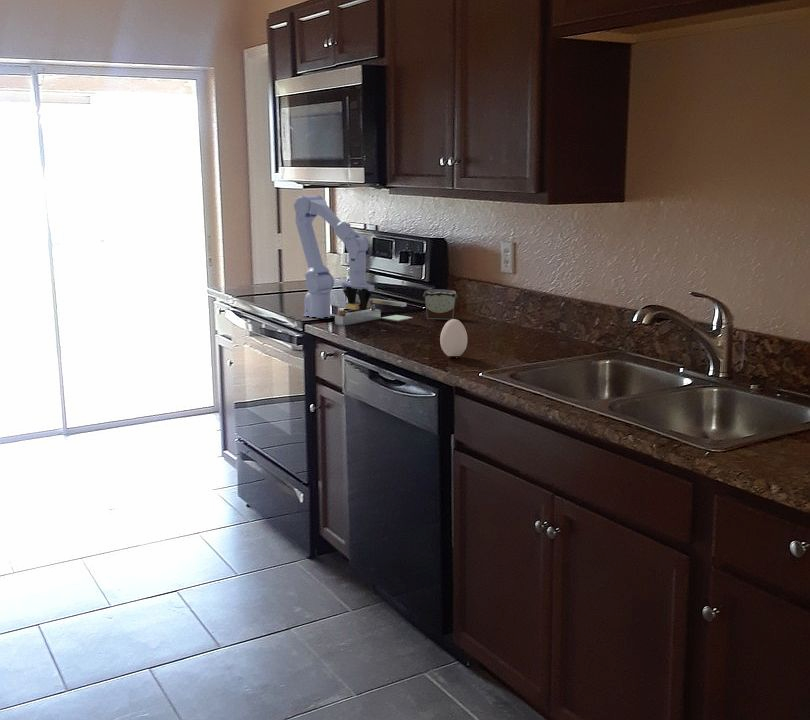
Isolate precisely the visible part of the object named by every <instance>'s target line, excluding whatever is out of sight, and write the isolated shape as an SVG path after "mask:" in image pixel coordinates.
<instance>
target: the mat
mask: <svg viewBox="0 0 810 720" xmlns="http://www.w3.org/2000/svg"><path fill="white" fill-rule="evenodd" d="M381 319H382V320H388V321H394V322H401V321H402V322H403V321H406V320H411V319H413V317H412V316H407V315H398V314H394V315H388V316H382V317H381Z"/></svg>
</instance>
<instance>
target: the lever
mask: <svg viewBox="0 0 810 720" xmlns="http://www.w3.org/2000/svg"><path fill="white" fill-rule="evenodd" d="M368 302H369V303H375V304H380V305H388V306H392V307H393V306H395V307H401V308H404V307H407V302H404V301H403V302H402V301H395V300H388V299H380V298H369V300H368Z"/></svg>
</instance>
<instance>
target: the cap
mask: <svg viewBox="0 0 810 720" xmlns="http://www.w3.org/2000/svg"><path fill="white" fill-rule="evenodd" d="M346 309H347V310H353V311H360V310H361V309H360V300H358V301H356V302H352V303H348V302H347V303H345V310H346ZM366 309H371V304H370V302H369V301H368V304H367V308H366Z"/></svg>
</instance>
